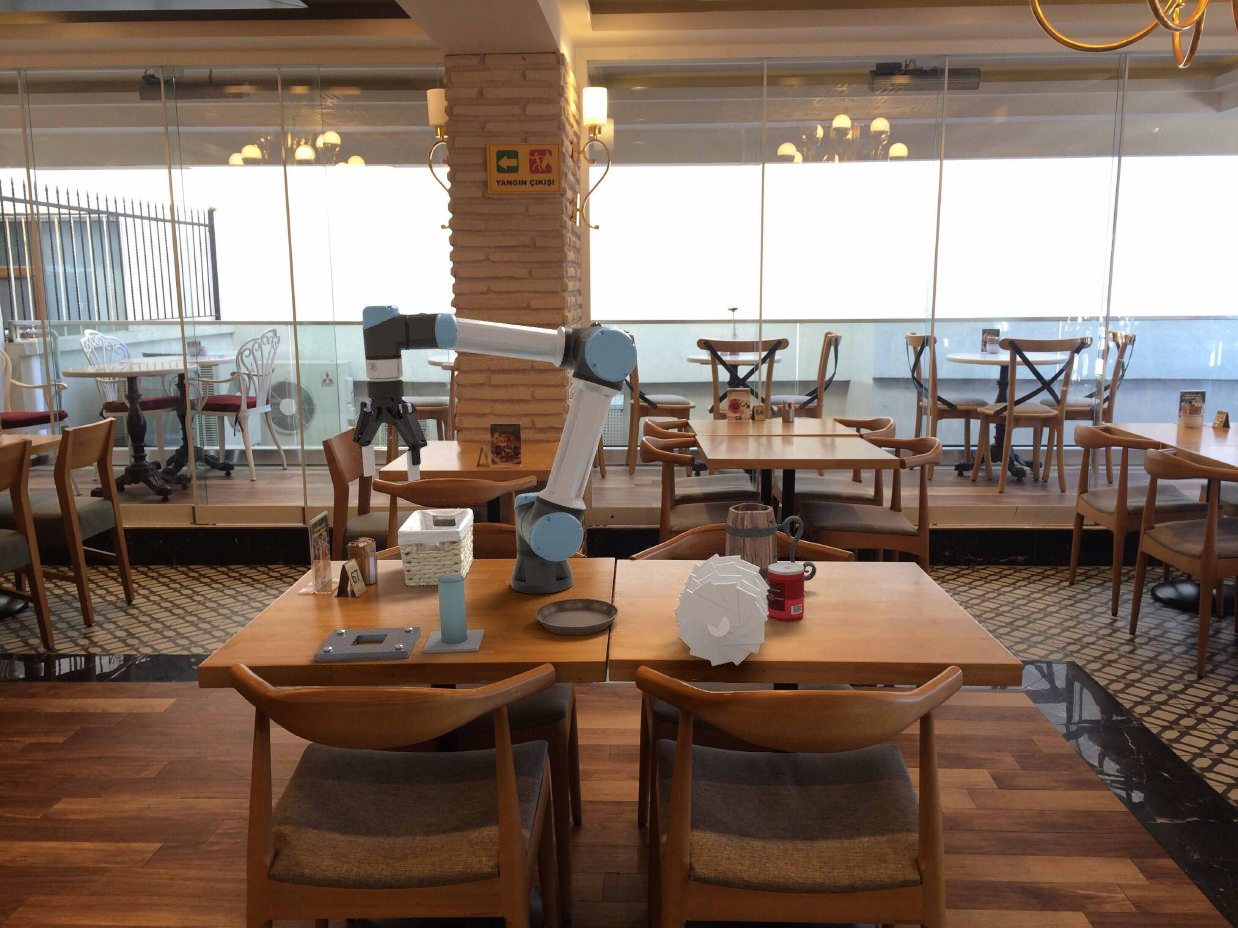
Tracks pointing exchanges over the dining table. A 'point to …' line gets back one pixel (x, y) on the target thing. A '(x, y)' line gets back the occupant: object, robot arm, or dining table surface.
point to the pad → (437, 646)
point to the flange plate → (345, 642)
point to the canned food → (786, 591)
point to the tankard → (759, 537)
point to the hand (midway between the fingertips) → (391, 478)
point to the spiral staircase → (723, 610)
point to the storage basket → (436, 545)
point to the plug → (452, 609)
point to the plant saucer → (577, 616)
